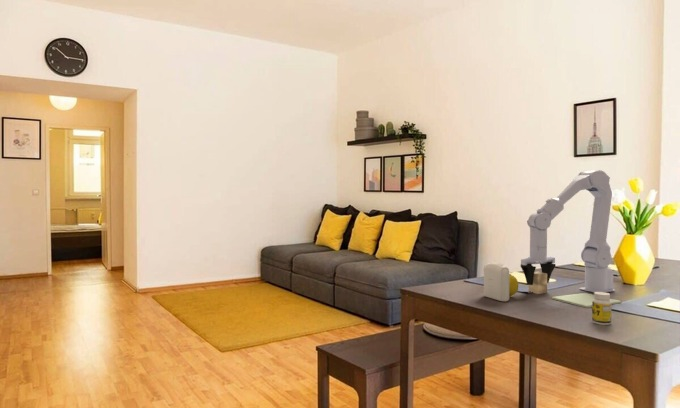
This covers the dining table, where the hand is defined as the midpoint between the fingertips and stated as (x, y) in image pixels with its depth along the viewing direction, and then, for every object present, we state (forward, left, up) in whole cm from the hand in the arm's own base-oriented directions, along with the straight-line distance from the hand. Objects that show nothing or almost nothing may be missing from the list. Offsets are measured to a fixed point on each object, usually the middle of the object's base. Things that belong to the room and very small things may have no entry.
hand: (537, 283), depth 180 cm
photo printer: (+21, +2, -3) cm, 21 cm away
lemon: (+15, +2, -3) cm, 15 cm away
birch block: (0, 0, -3) cm, 3 cm away
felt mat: (-4, +17, -3) cm, 18 cm away
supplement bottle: (+15, +38, -3) cm, 41 cm away
